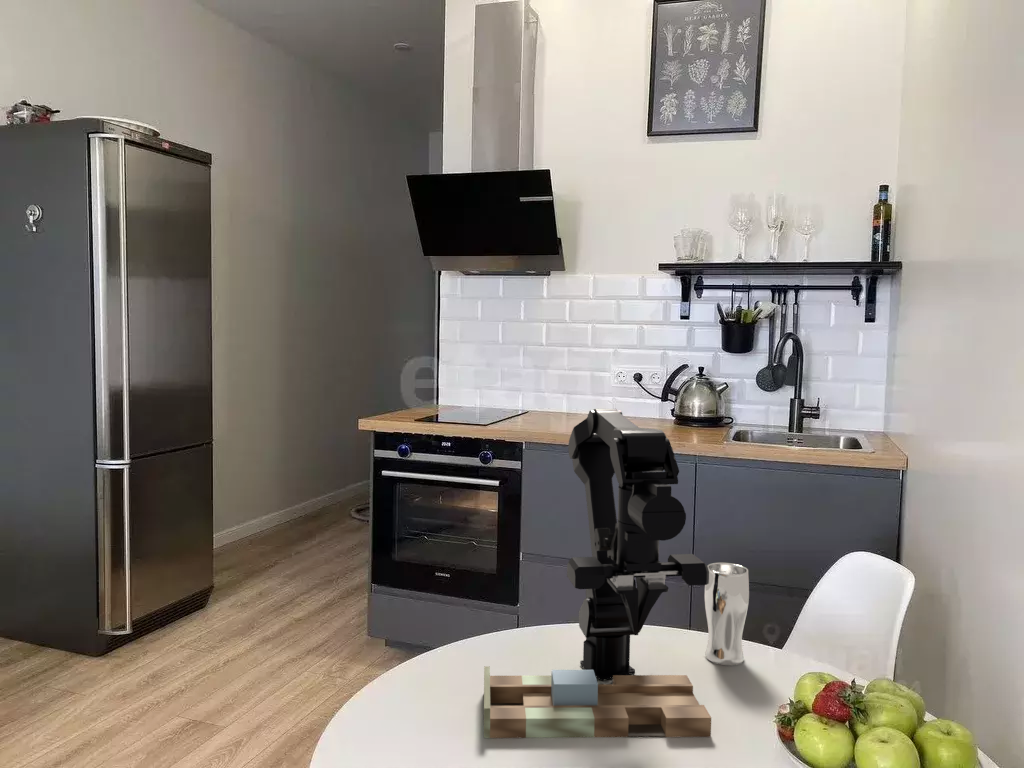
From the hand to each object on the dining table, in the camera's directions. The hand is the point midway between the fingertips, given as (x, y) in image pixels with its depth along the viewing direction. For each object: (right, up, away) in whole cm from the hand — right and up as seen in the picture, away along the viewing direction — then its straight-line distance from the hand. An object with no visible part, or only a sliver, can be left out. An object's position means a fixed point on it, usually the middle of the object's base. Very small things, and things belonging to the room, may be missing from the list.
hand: (635, 631), depth 106 cm
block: (-9, -10, +1) cm, 13 cm away
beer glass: (+18, -11, +20) cm, 28 cm away
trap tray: (-6, -12, +1) cm, 13 cm away
